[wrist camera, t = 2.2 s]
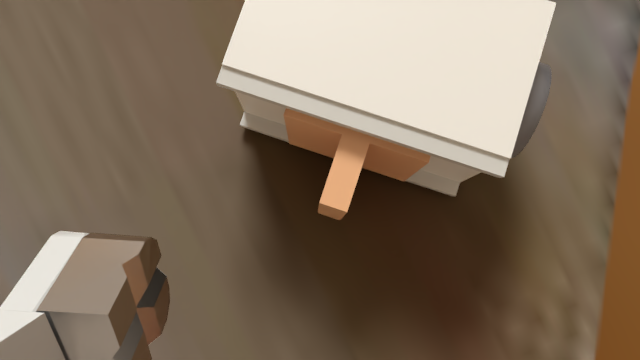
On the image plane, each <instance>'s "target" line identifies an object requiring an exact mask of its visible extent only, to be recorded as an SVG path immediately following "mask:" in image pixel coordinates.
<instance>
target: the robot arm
mask: <svg viewBox="0 0 640 360" xmlns="http://www.w3.org/2000/svg"><path fill="white" fill-rule="evenodd" d="M160 258H161V252H160V249H159V246H158V242H157V240H156V239H154V238H152V237H143V236H130V235H116V234H103V233H79V232H67V231H59V232H57V233H55V234H53V235H52V236H51V237H50V238H49V239H48V241H47V242H46V243H45V245H44V246H43V248H42V249H41V250H40V252H39V253H38V255H37V256H36V257H35V259H34V260H33V262H32V263H31V264H30V266H29V267H28V269H27V270H26V271H25V273H24V274H23V276H22V277H21V279H20V280H19V281H18V283H17V284H16V286H15V287H14V288H13V290H12V291H11V293H10V294H9V295H8V297H7V298H6V300H5V301H4V302H3V304H2V305H1V307H0V360H152V357H151V354H150V350H149V347H148V345H149V344H150V343H151V342H153V341H154V340H155V339H156V338H158V337H159V336H160V335H161V334H162V331H163V329H164V326H165V323H166V321H167V316H168V310H169V304H170V293H169V284H168V280H167V276H166V275H165V274H164V273H162V272H161V271H160V270H159V269H158V268H157V265H158V263H159V260H160Z"/></svg>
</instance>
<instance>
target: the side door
mask: <svg viewBox="0 0 640 360" xmlns="http://www.w3.org/2000/svg"><path fill="white" fill-rule="evenodd" d="M284 120H285V125H286V130H287V135H288V139H289V144H292V145H295V146H298V147H301V148H304V149H307V150H310V151H313V152H316V153H319V154H322V155H325V156H328V157H331V158H334V160H333V163H332V166H331V169H330V172H329V175H328V178H327V181H326V184H325V187H324V190H323V193H322V196H321V199H320V202H319V207H318V213H319V214H322V215H325V216H328V217H331V218H334V219H337V220H341V219H342V218H343V216H344V215H345V214H346V213H347V211H348V208H349V205H350V202H351V199H352V196H353V193H354V190H355V187H356V184H357V181H358V178H359V175H360V171H361V168H364V169H367V170H370V171H373V172H376V173H379V174H382V175H385V176H388V177H392V178H395V179H398V180H401V181H405V180H407V179H408V178H409V177H411V176H412V175H413V174H415V173H416V172H417V171H418V170H420V169H421V168H422V167H424V166H425V165H426V164H428V163H429V160H430V157H431V155H427V154H424V153H421V152H418V151H415V150H412V149H409V148H406V147H403V146H400V145H397V144H394V143H391V142H388V141H385V140H382V139H379V138H376V137H373V136H370V135H367V134H364V133H361V132H357V131H354V130H351V129H348V128H345V127H342V126H339V125H336V124H333V123H330V122H327V121H324V120H321V119H318V118H315V117H312V116H309V115H306V114H303V113H300V112H297V111H294V110H290V109H287V108H286V109H285V112H284Z"/></svg>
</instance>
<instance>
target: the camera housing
mask: <svg viewBox="0 0 640 360" xmlns="http://www.w3.org/2000/svg"><path fill="white" fill-rule="evenodd" d="M555 6H556V3H554V2H551V1H548V0H245V2H244V5H243V8H242V11H241V13H240V16H239V19H238V22H237V24H236V27H235V30H234V32H233V35H232V38H231V41H230V43H229V46H228V49H227V51H226V54H225V57H224V60H223V62H222V68H221V71H220V73H219V76H218V79H217V82H216V83H217V85H218V86H220V87H223V88H227V89H230V90H233V91H235V93H236V95H237V97H238V99H239V101H240V103H241V105H242V107H243V110H244V114H243V117H242V120H241V123H240V126H241V127H244V128H247V129H250V130H253V131H256V132H259V133H262V134H265V135H268V136H271V137H274V138H277V139H280V140H283V141H286V142H289V139H288V135H287V130H286V125H285V120H284V112H285V109H286V108H287V109H290V110H294V111H297V112H300V113H303V114H306V115H309V116H312V117H315V118H318V119H321V120H324V121H327V122H330V123H333V124H336V125H339V126H342V127H345V128H348V129H351V130H354V131H357V132H361V133H364V134H367V135H370V136H373V137H376V138H379V139H382V140H385V141H388V142H391V143H394V144H397V145H400V146H403V147H406V148H409V149H412V150H415V151H418V152H421V153H424V154H427V155H431V157H430V160H429V163H428V164H426V165H425V166H424V167H422V168H421V169H420V170H418V171H417V172H416V173H415V174H413V175H412V176H411V177H409V178H408V179H407V180H405V181H407V182H410V183H413V184H416V185H419V186H422V187H425V188H428V189H431V190H434V191H438V192H441V193H444V194H447V195H450V196H453V197H455V196H456V194H457V190H458V187H459V184H460V182H462V181H464V180H466V179H468V178H471V177H473V176H475V175H477V174H479V173H481V172H482V173H485V174H488V175H491V176H494V177H498V178H503V177H504V176H505V173H506V169H507V166H508V162H509V159H511V158H513V157H515V156H517V155H518V154H519V153H520V152H521V151H522V150H523V149H524V147H525V146H526V145H527V143H528V142H529V140H530V138H531V137H532V135H533V133H534V131H535V129H536V127H537V125H538V123H539V121H540V118H541V116H542V113H543V111H544V108H545V105H546V102H547V98H548V95H549V90H550V85H551V68H550V66H549V65H547V64H544V63H541V62H539V60H540V57H541V53H542V50H543V47H544V43H545V40H546V36H547V33H548V30H549V26H550V23H551V19H552V16H553V12H554V9H555Z"/></svg>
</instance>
